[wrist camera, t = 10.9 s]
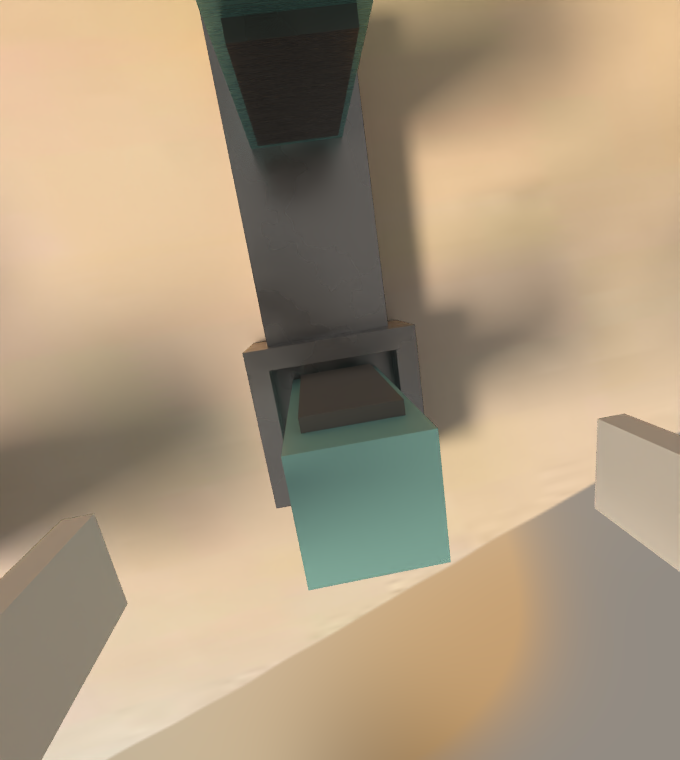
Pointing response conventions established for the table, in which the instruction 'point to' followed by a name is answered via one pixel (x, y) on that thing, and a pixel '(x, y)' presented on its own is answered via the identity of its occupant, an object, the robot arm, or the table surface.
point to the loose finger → (362, 478)
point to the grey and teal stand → (304, 199)
